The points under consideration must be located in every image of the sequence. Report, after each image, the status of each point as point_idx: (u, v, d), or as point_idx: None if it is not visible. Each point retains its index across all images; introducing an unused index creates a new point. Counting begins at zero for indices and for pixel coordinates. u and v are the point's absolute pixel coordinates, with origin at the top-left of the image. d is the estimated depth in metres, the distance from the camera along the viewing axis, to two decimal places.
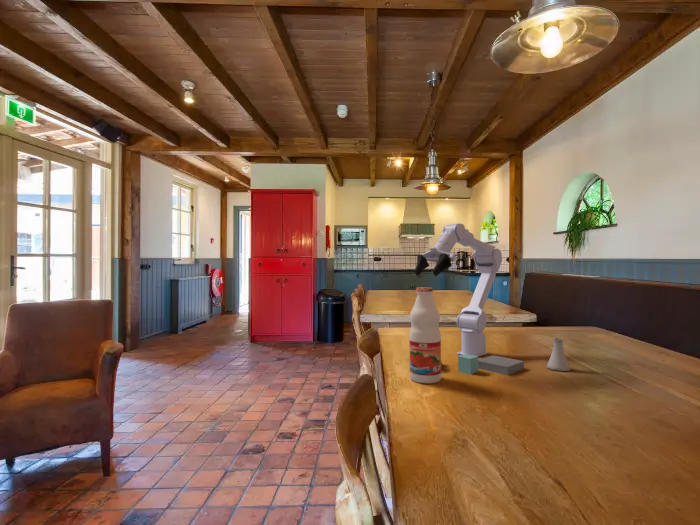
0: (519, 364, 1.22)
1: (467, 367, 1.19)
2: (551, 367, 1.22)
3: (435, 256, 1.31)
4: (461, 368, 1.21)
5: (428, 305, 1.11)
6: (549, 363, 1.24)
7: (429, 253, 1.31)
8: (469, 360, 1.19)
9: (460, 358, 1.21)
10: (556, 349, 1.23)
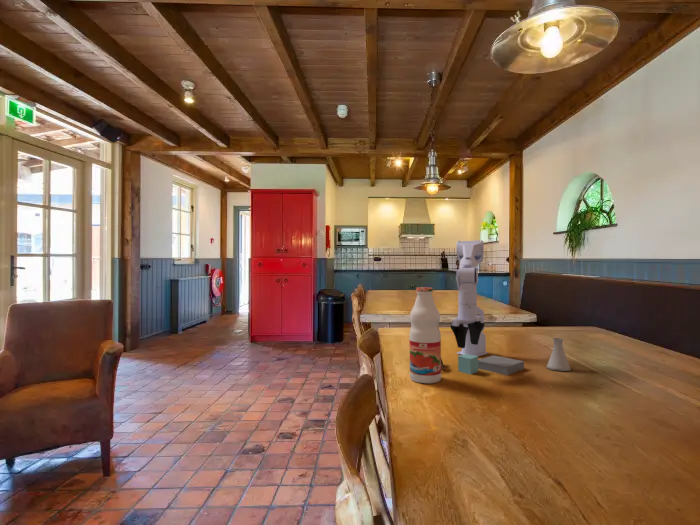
0: (519, 364, 1.22)
1: (467, 367, 1.19)
2: (551, 367, 1.22)
3: None
4: (461, 368, 1.21)
5: (428, 305, 1.11)
6: (549, 363, 1.24)
7: None
8: (469, 360, 1.19)
9: (460, 358, 1.21)
10: (555, 349, 1.23)
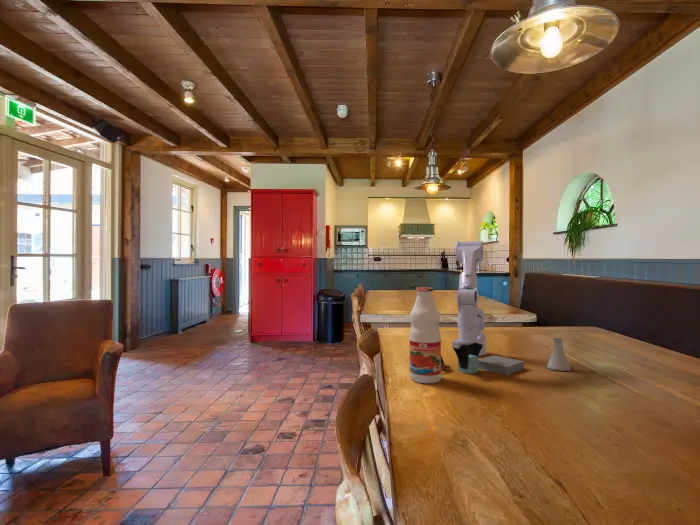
0: (519, 364, 1.22)
1: None
2: (551, 367, 1.22)
3: None
4: (461, 368, 1.21)
5: (428, 305, 1.11)
6: (549, 363, 1.24)
7: None
8: (469, 360, 1.19)
9: None
10: (555, 349, 1.23)
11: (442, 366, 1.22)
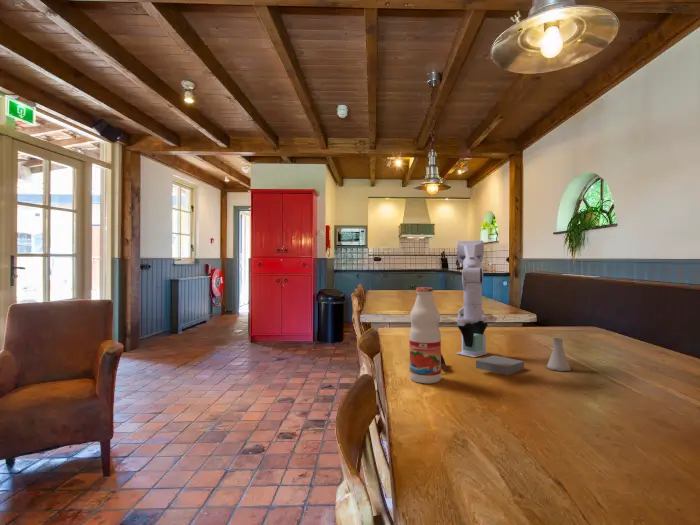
0: (519, 364, 1.22)
1: None
2: (551, 367, 1.22)
3: None
4: (466, 346, 1.21)
5: (428, 305, 1.11)
6: (549, 363, 1.24)
7: None
8: (474, 338, 1.19)
9: None
10: (555, 349, 1.23)
11: (443, 366, 1.22)
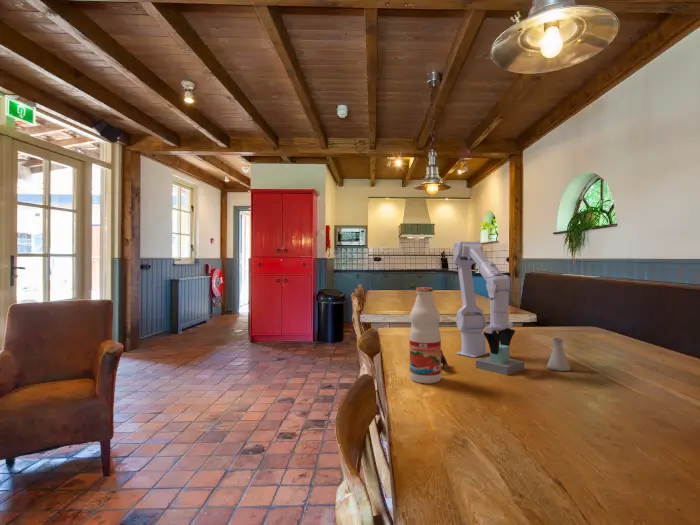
0: (519, 365, 1.22)
1: (499, 356, 1.22)
2: (551, 367, 1.22)
3: None
4: (493, 357, 1.24)
5: (428, 305, 1.11)
6: (549, 363, 1.24)
7: None
8: (501, 349, 1.22)
9: None
10: (555, 349, 1.23)
11: (445, 367, 1.21)
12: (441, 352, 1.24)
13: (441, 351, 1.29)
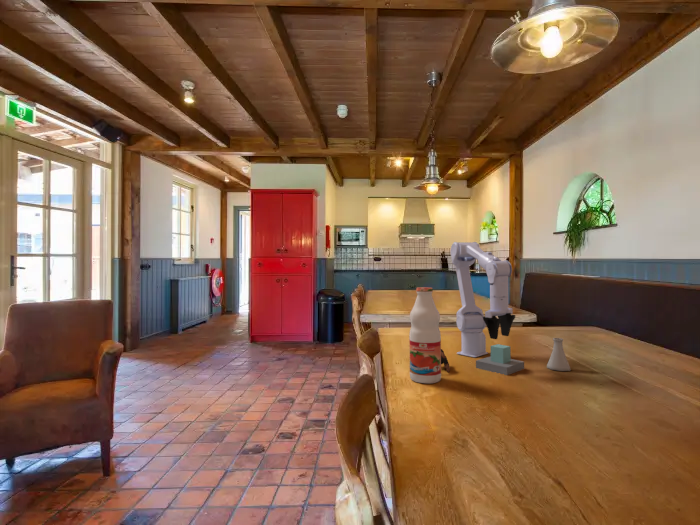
0: (519, 365, 1.22)
1: (500, 356, 1.22)
2: (551, 367, 1.22)
3: None
4: (493, 357, 1.24)
5: (429, 305, 1.11)
6: (549, 363, 1.24)
7: None
8: (502, 350, 1.22)
9: (493, 347, 1.24)
10: (555, 349, 1.23)
11: (447, 367, 1.21)
12: (443, 352, 1.24)
13: (442, 351, 1.29)
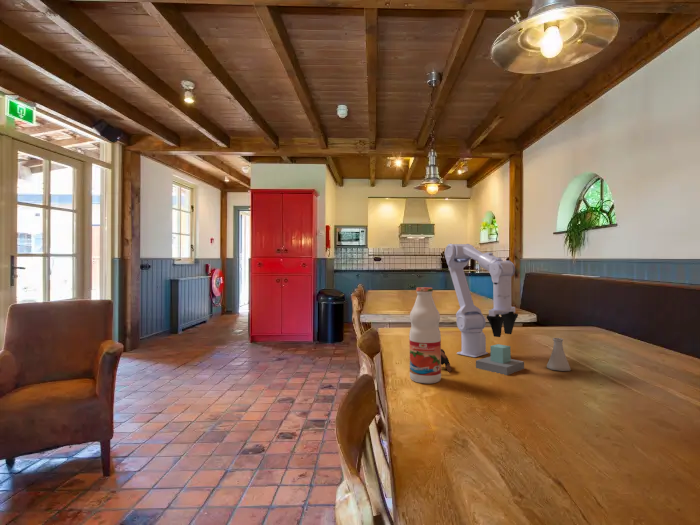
0: (519, 365, 1.22)
1: (500, 356, 1.22)
2: (551, 367, 1.22)
3: None
4: (493, 357, 1.24)
5: (429, 305, 1.11)
6: (549, 363, 1.24)
7: (504, 311, 1.25)
8: (501, 349, 1.22)
9: (493, 347, 1.24)
10: (555, 349, 1.23)
11: (448, 367, 1.21)
12: (444, 353, 1.24)
13: (443, 351, 1.28)
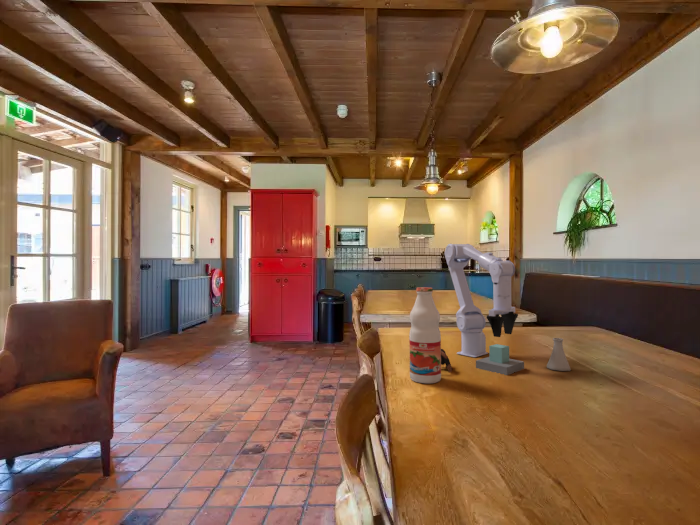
0: (519, 365, 1.22)
1: (499, 356, 1.22)
2: (551, 367, 1.22)
3: None
4: (492, 357, 1.24)
5: (428, 305, 1.11)
6: (549, 363, 1.24)
7: (504, 311, 1.25)
8: (500, 349, 1.22)
9: (492, 347, 1.24)
10: (555, 349, 1.23)
11: (449, 368, 1.20)
12: (444, 353, 1.23)
13: (444, 352, 1.28)
